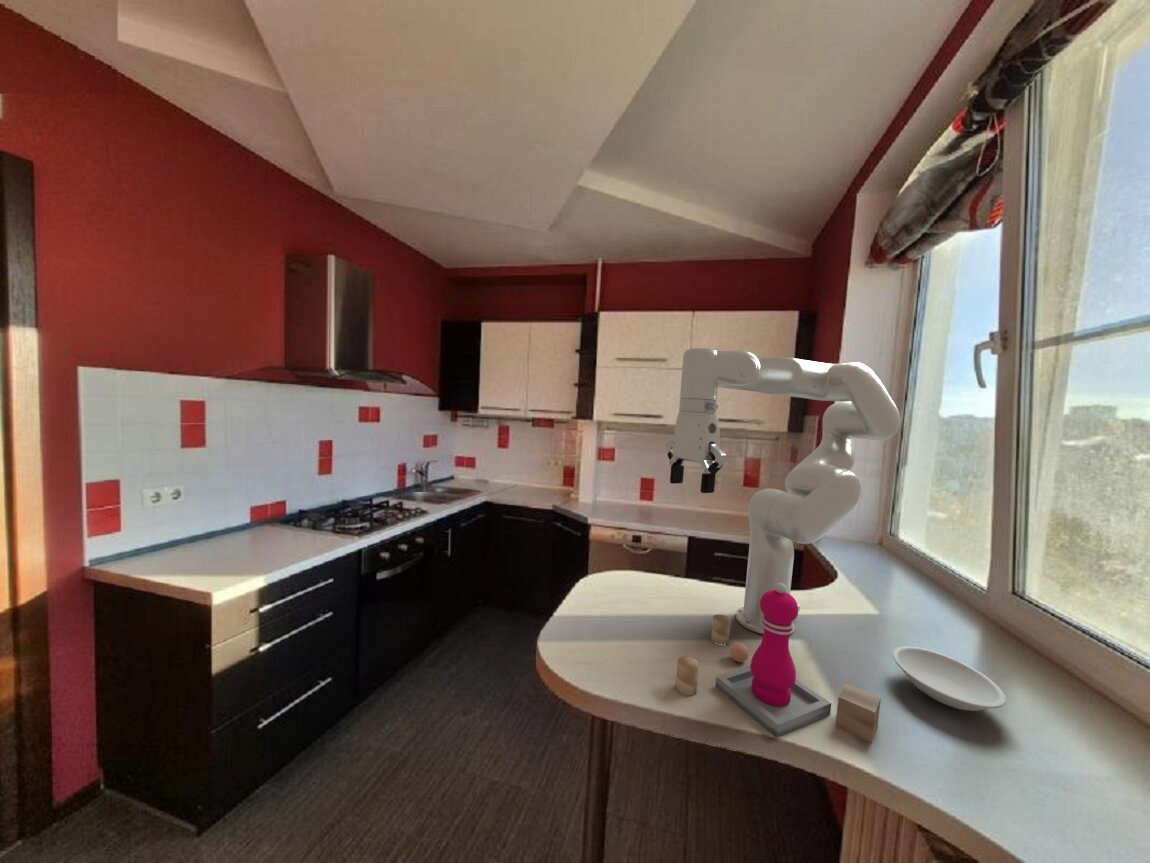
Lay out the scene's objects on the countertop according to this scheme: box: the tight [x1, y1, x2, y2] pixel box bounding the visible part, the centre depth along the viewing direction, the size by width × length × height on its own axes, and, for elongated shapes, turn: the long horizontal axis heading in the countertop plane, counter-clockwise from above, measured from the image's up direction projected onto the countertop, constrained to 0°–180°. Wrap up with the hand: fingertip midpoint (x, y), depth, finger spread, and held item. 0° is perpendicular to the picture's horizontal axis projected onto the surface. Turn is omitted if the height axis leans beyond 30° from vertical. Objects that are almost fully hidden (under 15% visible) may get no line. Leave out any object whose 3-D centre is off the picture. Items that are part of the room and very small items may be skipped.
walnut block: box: [835, 683, 882, 744], centre depth 73 cm, size 5×5×5 cm
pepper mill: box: [749, 583, 799, 707], centre depth 78 cm, size 7×7×20 cm
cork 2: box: [710, 614, 732, 646], centre depth 97 cm, size 4×4×5 cm
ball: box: [729, 641, 750, 663], centre depth 90 cm, size 4×4×4 cm
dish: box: [892, 645, 1007, 712], centre depth 81 cm, size 18×14×5 cm
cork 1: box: [675, 656, 699, 697], centre depth 80 cm, size 4×4×5 cm
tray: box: [714, 665, 832, 738], centre depth 79 cm, size 13×13×2 cm
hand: (691, 487), depth 97 cm, fingers open, 9 cm apart
